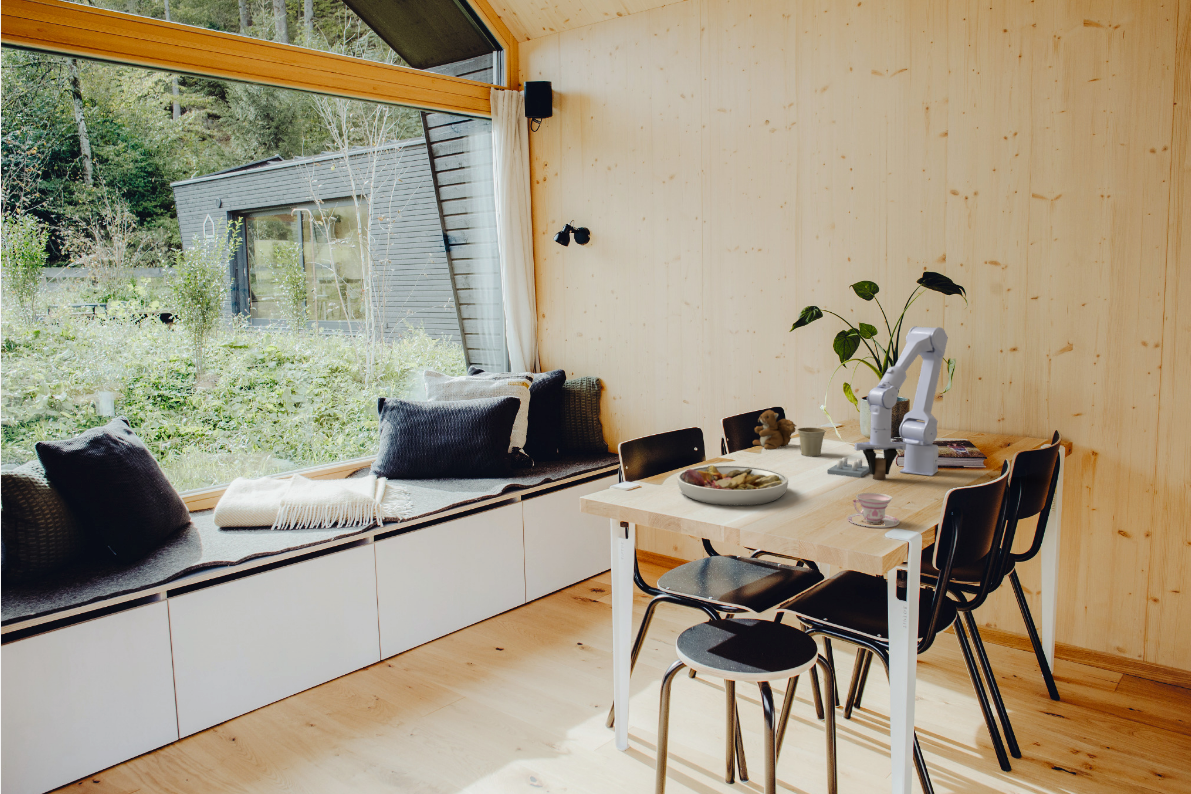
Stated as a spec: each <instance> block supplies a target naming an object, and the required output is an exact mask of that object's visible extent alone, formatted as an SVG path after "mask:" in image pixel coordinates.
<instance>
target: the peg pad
mask: <svg viewBox="0 0 1191 794" xmlns="http://www.w3.org/2000/svg"><path fill="white" fill-rule="evenodd" d="M836 462H837V463H836V464H835V465H834V466H832V467H830V468H828V469H827V473H828V475H835V474H836V475H837V476H843V475H846V476H845V477H852V476H853V477H854V478H860V477H861V478H862V477H864V476H865V475H867V474H869V473H870V471H869V466H868V465H867V466H866V465H863V459H862V458H857V459H856V461H852V462H851V463H852V464H849V463H848V457H842V458H841V459H839V460H837V461H836ZM853 477H852V478H853Z"/></svg>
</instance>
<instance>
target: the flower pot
mask: <svg viewBox="0 0 1191 794" xmlns="http://www.w3.org/2000/svg"><path fill="white" fill-rule="evenodd" d="M796 431H797V432H798V436H799V443H800V445H799V446H800V452H801V453H800V454H801V455H803V456H804V457H811V456H812V457H819V456H821V452H822V446H823V442H824V441H823V440H824V437H825V433H826V431H827V430H826V429H825V428H820V427H811V426H810V427H799V428H797V429H796Z"/></svg>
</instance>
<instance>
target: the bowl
mask: <svg viewBox="0 0 1191 794" xmlns="http://www.w3.org/2000/svg"><path fill="white" fill-rule="evenodd" d="M677 485H678V487H679V489H680V491H681V492H682V493H683V495H686V496H687V497H688V498H691V499H692V500H694V501H698V502H701V503H705V502H706V504H710V503H712V504H713V505H718V504H721V506H732V505H744V506H756V504H757V505H764V504H767V503H771V502H774V501H776V500H778V499H779V498H781V497H782V496H784V494H785V493H786V491H787V490H788V486H789V478H788V476H786V475H785V474H783V473H781V472H778V471H775V470H772V469H768V468H767V469H766V468H761V467H755V466H745V465H713V464H711V465H707V466H702V467H701V466H700V467H694V468H689V469H687V470H683V471H681V472H679V474H678V475H677ZM712 504H711V505H712Z"/></svg>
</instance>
